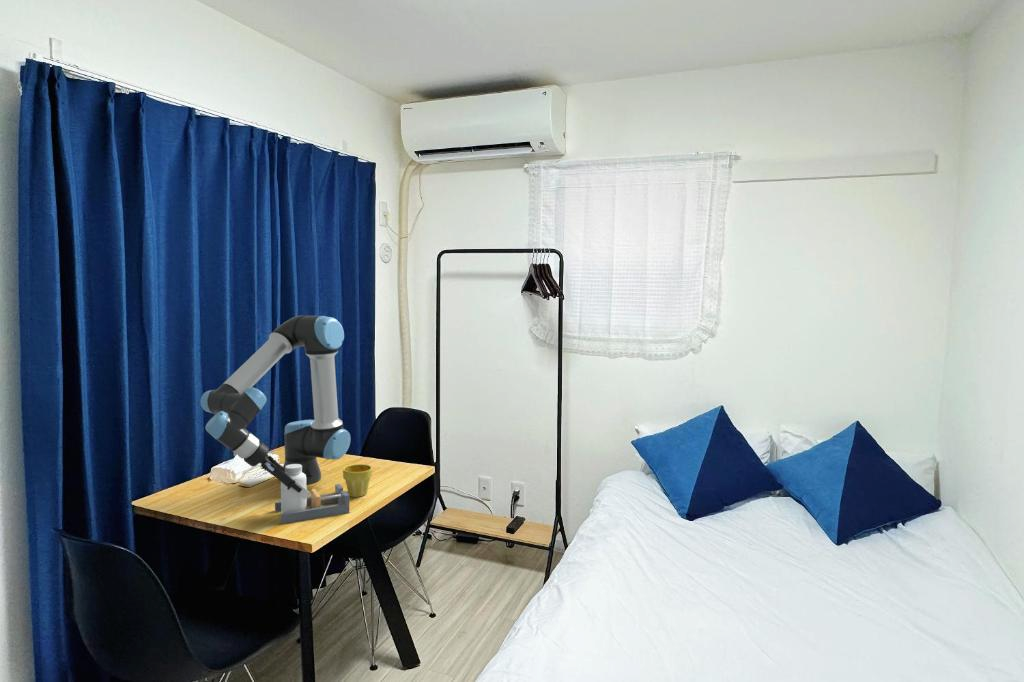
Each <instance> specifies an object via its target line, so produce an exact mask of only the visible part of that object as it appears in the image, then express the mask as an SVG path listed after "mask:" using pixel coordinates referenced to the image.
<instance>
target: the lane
mask: <svg viewBox="0 0 1024 682" xmlns="http://www.w3.org/2000/svg"><path fill="white" fill-rule="evenodd" d="M338 494H341V497H338V498H332V499H325V500H321V507H317V508H312V506H311V496H308V497H307V508H306V509H305V510H298V511H292V512H286V513H283V512H282V511H281V500H278V501H274V512H275V513H279V512H281V513H280V524H281V525H284V524H290V523H297V522H302V521H308V520H314V519H320V518H326V517H331V516H337V515H344V514H350V496H349V494H348V491H347V490H344V487H343V486H342V485H341V484H340V483H336V484H335V486H334V492H332V493H325V494H319V495H320V496H321V497H325V496H332V495H338ZM335 503H336V504H335ZM322 505H325V506H322ZM309 507H311V508H309Z"/></svg>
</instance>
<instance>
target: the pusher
mask: <svg viewBox="0 0 1024 682" xmlns="http://www.w3.org/2000/svg"><path fill="white" fill-rule="evenodd" d="M310 490H311V491H310V497H311V508H317V507H322V505H321V500H325V499H332V498H338V497H341V494H338V495H332V496H325V497H321V496H320V495H321V494H319V492H318V491H317V489H316V488H311V489H310Z"/></svg>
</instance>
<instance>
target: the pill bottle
mask: <svg viewBox="0 0 1024 682" xmlns="http://www.w3.org/2000/svg"><path fill="white" fill-rule="evenodd" d="M285 473H286V474H287V475H288V476H289V477H291V478H292V479H293V480H295V481H296V482H298V483H299V484H300V485H302V486H303V487H304V488H305V489H307V485H306V475H305V474H304V473H302V465H300V464H290V465H287V466H285ZM287 488H288V487H287V486H286V485H284V484H283V483H282V482H280V501H281V511H280V512H281V513H286V512H292V511H298V510H305V509H308V507H307V498H306V499H305V500H304V499H303V498H302V497H301V496H299V495H298V494H297V493H295V492H294V491H293V490H292V489H289V490H288V489H287ZM307 490H308V489H307Z"/></svg>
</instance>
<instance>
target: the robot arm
mask: <svg viewBox="0 0 1024 682" xmlns="http://www.w3.org/2000/svg"><path fill="white" fill-rule="evenodd" d="M344 339H345V332H344V328H343V326H342V324H341V323H340V322H339V321H338V319H336V318H335V317H331V316H326V315H305V314H304V315H303V314H301V315H297V316H293V317H291V318H290V319H288V320H286V321H284V322H283V323H282V324H280V325H279V326H277V327H276V328H275V329H274V330H273V331H272V332H271V333H270V334H269V335H268V340H267V341H265V343H263V344H262V346H261V347H259V349H257V350H256V352H254V353H253V354H252V355H251V356H250V357H249V358H248V359H247V360H245V362H244V363H243V364H242V365H241V366H240V367H239V368H237V370H235V371H234V373H232V374H231V376H229V378H227V379H226V380H225V381H224V382H223V383H222V384H221V385H220V386H219V387H218V388H217V389H210V390H206V391H205V392H204V393H203V394H202V396H201V397H200V406H201V408H202V410H204V411H205V412H207V413H210V414H213V416H212V417H211V418H210V419H209V420H208V421H207V422H206V425H205V431H206V432H207V433H208V434H209V435H211V437H212V438H214V440H216V441H218V442H219V443H221V444H222V445H223V446H225V447H226V448H227V449H229V450H230V451H231V452H233V456H234V457H236V456H237V457H239V458H240V459H243V461H244V462H245V463H246V464H248V465H249V466H251V467H252V468H253V467H256V466H257V465H260V466H261V468H262V469H263V470H264V471H266V472H268V473H269V474H270V475H271V476H274V477H275V478H276V479H277V480H278V481H280V483H281V482H282V483H283V484H284V485H286V486H287V487H288V488H287V489H288V490H289V489H292V490H293V491H294V492H295V493H297V494H298V495H299V496H301V497H302V498H303V499H304V500H305V499H306V498H307V497H310V495H311V491H309V490H308V489H305V488H304V487H303V486H302V485H300V484H299V483H298V482H296V481H295V480H293V479H292V478H291V477H289V476H288V475H287V474H286V473H285V466H287V465H290V464H300V465H302V473H304V474H305V475H306V486H307V485H311V484H315V483H317V482H319V481H320V480H321V479H322V471H321V468H320V465H319V463H318V459H317V458H320V459H324V460H333V461H337V460H339V459H341V458H343V457H344V456H345V454H346V453H348V452H347V451H348V450H349V448H350V445H351V434H350V432H349V431H348V430H346V428H344V423H343V420H341V419H340V418H339V409H338V407H339V406H338V397H337V396H338V393H337V377H336V363H335V356H336V355H337V354H338V353H339V348H340V347H341V346H342V344H343V342H344ZM299 347H300V348H301V347H303V348H304V353H305V355H306V356H307V357H308V358H309V362H310V363H309V364H310V372H311V373H310V378H311V388H312V389H311V391H312V403H313V418H314V419H304V420H302V419H301V420H298V421H297V420H296V421H291V422H289V423H287V424H286V425H285V426H284V433H283V436H284V437H283V439H284V442H283V443H284V463H283V465H281V464H280V463H278V461H276V459H274V458H273V456H271V455H268V454H269V452H270V448H269V446H268V445H266V444H265V443H264V442H263V441H260V439H259V438H258V437H256V436H255V435H254V434H253V433H252V432H250V431H249V430H248V429H246V428H247V427H248V426H249V425H250V423H251V422H252V421H253V420H254V418H255V417H256V416H257V415H258V414H259V413H260V412H261V411H262V409H263V407H264V406H265V404H266V403H267V401H268V399H267V397H266V395H265V393H263V392H262V391H261V390H260V389H258V388H256V387H254V386H255V385H256V384H257V383H258V382H259V381H260V380H261V379H262V377H264V376H265V375H266V374H267V372H268V371H270V370H271V368H273V366H275V364H277V362H278V361H279V360H281V359H282V357H284V355H286V354H290V353H291V352H293V350H295V349H297V348H299Z"/></svg>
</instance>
